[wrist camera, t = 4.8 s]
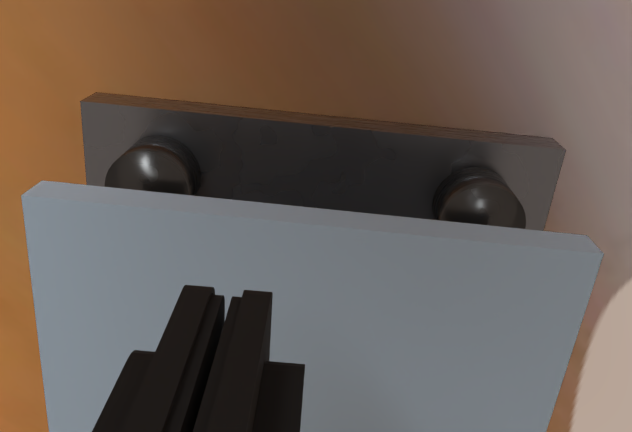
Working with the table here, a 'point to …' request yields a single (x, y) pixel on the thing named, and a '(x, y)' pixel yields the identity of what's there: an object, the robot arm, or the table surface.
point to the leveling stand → (319, 161)
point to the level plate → (313, 304)
